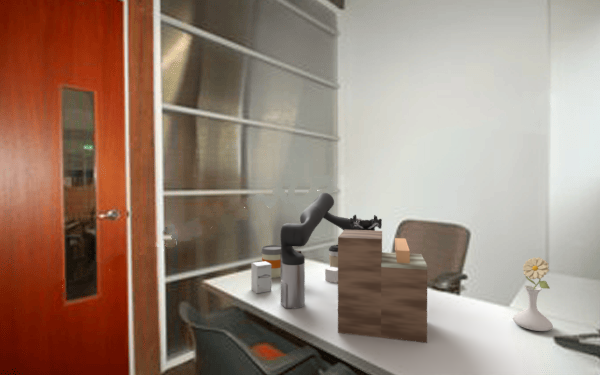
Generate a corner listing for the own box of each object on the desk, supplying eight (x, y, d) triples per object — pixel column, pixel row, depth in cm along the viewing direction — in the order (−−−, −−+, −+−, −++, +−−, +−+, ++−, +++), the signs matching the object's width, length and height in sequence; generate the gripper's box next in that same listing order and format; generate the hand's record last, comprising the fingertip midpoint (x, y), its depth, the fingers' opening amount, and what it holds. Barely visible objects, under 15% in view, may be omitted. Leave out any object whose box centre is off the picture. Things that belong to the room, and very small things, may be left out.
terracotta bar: (394, 248, 133) (394, 238, 133) (405, 248, 132) (405, 238, 132) (396, 262, 110) (396, 250, 110) (409, 263, 109) (409, 250, 109)
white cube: (325, 280, 170) (325, 269, 170) (331, 278, 175) (331, 266, 175) (335, 283, 167) (335, 271, 166) (341, 280, 171) (341, 268, 171)
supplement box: (256, 294, 151) (256, 265, 150) (251, 289, 157) (251, 262, 157) (271, 291, 154) (271, 264, 154) (265, 286, 161) (265, 260, 160)
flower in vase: (505, 320, 122) (506, 251, 122) (537, 320, 122) (538, 251, 121) (529, 336, 109) (530, 260, 109) (565, 337, 109) (566, 260, 108)
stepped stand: (344, 312, 130) (344, 229, 129) (421, 319, 123) (421, 232, 122) (337, 332, 112) (337, 237, 111) (426, 342, 105) (427, 241, 104)
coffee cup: (340, 276, 179) (340, 247, 178) (325, 273, 183) (325, 246, 183) (347, 272, 186) (347, 245, 186) (333, 269, 191) (333, 243, 191)
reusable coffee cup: (276, 270, 189) (275, 244, 189) (289, 275, 180) (289, 247, 179) (257, 274, 181) (256, 247, 181) (270, 280, 172) (270, 250, 171)
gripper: (352, 222, 166) (349, 208, 152) (382, 223, 162) (381, 209, 148) (351, 237, 162) (348, 224, 148) (382, 238, 158) (381, 225, 145)
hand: (364, 216), depth 148 cm, fingers open, 8 cm apart
